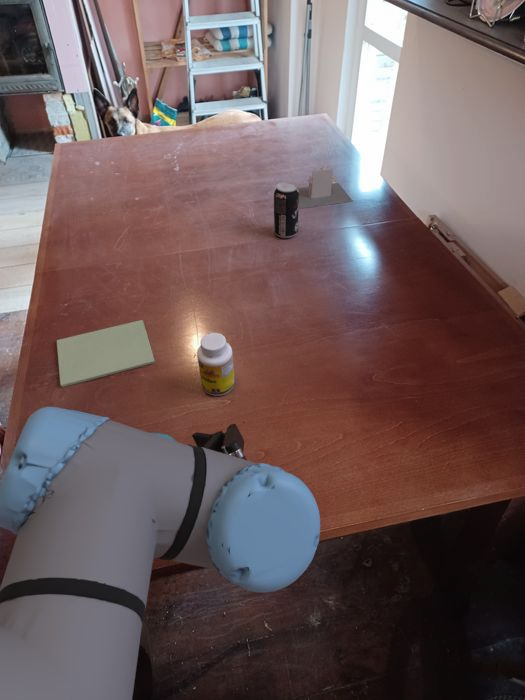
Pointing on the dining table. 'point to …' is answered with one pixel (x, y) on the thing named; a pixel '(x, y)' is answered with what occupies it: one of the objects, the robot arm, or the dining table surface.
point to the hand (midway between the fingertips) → (153, 469)
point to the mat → (103, 353)
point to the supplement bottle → (216, 364)
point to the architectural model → (322, 190)
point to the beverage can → (286, 210)
